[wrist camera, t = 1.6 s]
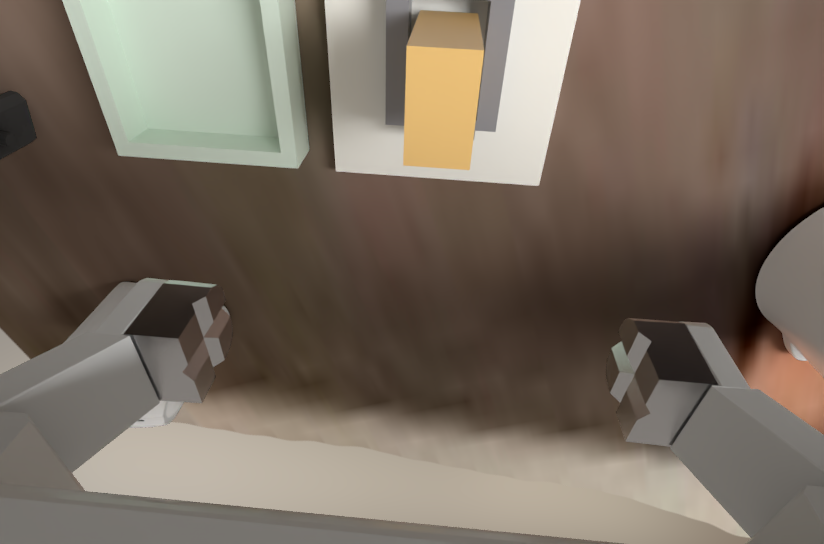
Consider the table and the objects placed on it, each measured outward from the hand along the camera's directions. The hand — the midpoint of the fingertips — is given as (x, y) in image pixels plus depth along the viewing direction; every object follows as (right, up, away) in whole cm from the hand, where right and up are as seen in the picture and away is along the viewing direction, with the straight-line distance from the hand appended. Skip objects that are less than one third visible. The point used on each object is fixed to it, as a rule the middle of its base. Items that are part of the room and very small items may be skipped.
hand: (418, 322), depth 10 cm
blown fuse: (+2, +14, +18) cm, 23 cm away
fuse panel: (+2, +14, +19) cm, 24 cm away
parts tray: (-13, +16, +19) cm, 28 cm away
